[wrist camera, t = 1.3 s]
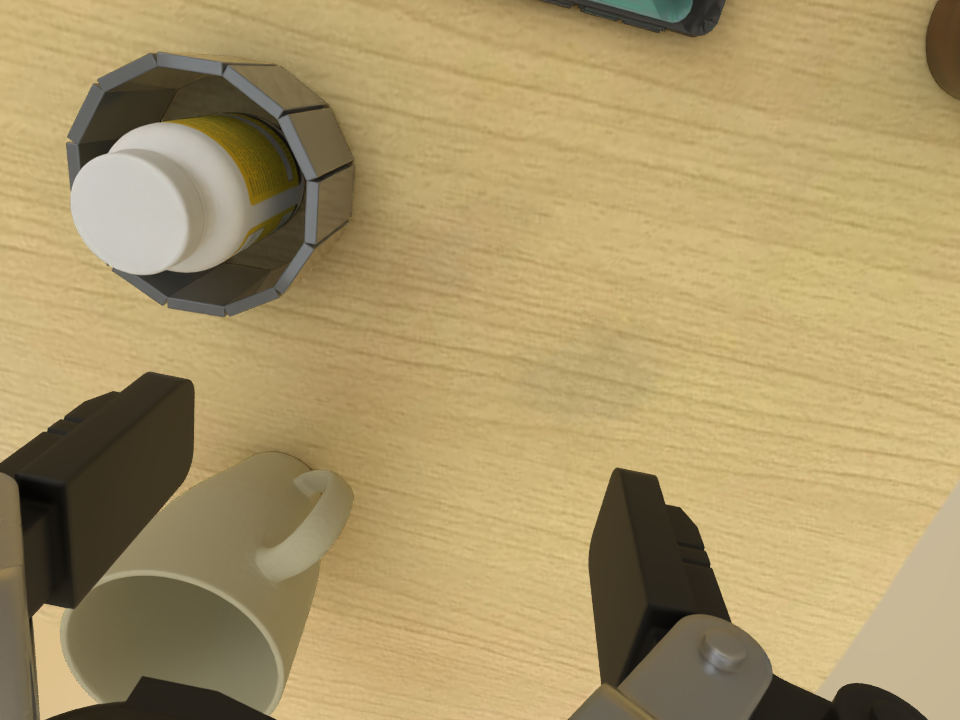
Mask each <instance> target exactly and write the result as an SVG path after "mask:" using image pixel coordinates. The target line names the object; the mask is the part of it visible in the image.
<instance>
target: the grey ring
mask: <svg viewBox="0 0 960 720" xmlns="http://www.w3.org/2000/svg"><path fill="white" fill-rule="evenodd" d="M206 75H213V76H219V77H223V78H224V79H226V80H227V81H228V82H229V83H231V84H232V85H233V86H234V87H236V88H237V89H238V90H240V91H241V92H242V93H243V94H245V95H246V96H247V97H248V98H250V99H251V100H252V101H254V102H255V103H256V104H257V105H259V106H260V107H261V108H262V109H264V110H265V111H266V112H268V113H269V114H270V115H271V116H273V117H274V118H275V119H276V120H277V121H278V123H279V125H280V127H281V129H282V131H283V133H284V135H285V137H286V140H287V142H288V144H289V146H290V148H291V150H292V152H293V154H294V156H295V158H296V160H297V163H298V165H299V167H300V169H301V171H302V173H303V175H304V177H305V179H306V181H307V182H306V206H305V230H304V243H303V244H302V246H301V247H300V249H299V250H298V252H297V253H296V254H295V256H294V257H293V259H292V260H291V262H290V263H289V264H287V265H284V266H281V267H279V268H276V269H274V270H272V271H271V270H266V269H259V268H253V267H247V266H241V265H235V264H229V263H224V262H222V263H221V264H219V265H217V266H214V267H212V268H209V269H207V270H203V271H199V272H188V273H186V272H175V271H169V270H165V271H163V272H160V273H156V274H151V275H135V274H130V273H126V272H123V271H120V270H118V269H115V268H112V271H113V272H115V273H116V274H118V275H119V276H120V277H122V278H123V279H125V280H126V281H128V282H129V283H130V284H132V285H133V286H135V287H136V288H138V289H139V290H141V291H142V292H143V293H145V294H146V295H148V296H149V297H151V298H152V299H153V300H155V301H156V302H158V303H159V304H161V305H162V306H163V305H165V304H166V303H168V308H171V309H177V310H183V311H189V312H195V313H201V314H208V315H214V316H220V317H225V316H226V315H228V316H229V317H231V316H233V315H236V314H239V313H241V312H244V311H246V310H249V309H251V308H254V307H257V306H259V305H262V304H264V303H267V302H270V301H272V300H275V299H277V298H279V297H280V296H282V295H283V294H284V293H286V292H287V291H288V290H289V289H290V288H291V287H292V286H294V285H295V284H296V283H297V282H298V281H299V280H300V279H302V278H303V277H304V276H305V275H306V274H307V273H308V272H310V271H311V270H312V269H313V268H314V267H315V266H316V265H318V264H319V263H320V262H321V261H322V260H323V259H324V258H325V256H326V255H327V253H328V252H329V250H330V249H331V248H332V246H333V245H334V243H335V242H336V241H337V239H338V238H339V236H340V235H341V234H342V232H343V231H344V229H345V228H346V226H347V225H348V224H349V220H348V219H349V218H351V215H352V200H353V185H354V171H355V165H354V164H347V163H349V162H351V161H353V160H354V159H353V157H352V154H351V152H350V150H349V148H348V146H347V143H346V141H345V139H344V137H343V134H342V132H341V130H340V128H339V125H338V123H337V121H336V119H335V117H334V114H333V112H332V110H331V108H325V106H326V104H327V103H326V102H325V101H324V100H323V99H322V98H320V97H319V96H318V95H317V94H315V93H314V92H313V91H312V90H310V89H309V88H308V87H307V86H305V85H304V84H303V83H302V82H300V81H299V80H298V79H297V78H295V77H294V76H293V75H292V74H290V73H289V72H288V71H287V70H285V69H284V68H283V67H281V66H277V65H276V64H274V63H268V62H262V61H255V60H249V59H243V58H236V57H230V56H224V55H208V54H190V53H173V52H157V53H149V54H147V55H145V56H143V57H141V58H139V59H137V60H135V61H133V62H131V63H129V64H127V65H125V66H123V67H121V68H119V69H117V70H115V71H113V72H110V73H108V74H106V75H104V76H102V77H100V78H98V79H97V80H98V82H99V83H94V84H93V85H92V87H91V89H90V91H89V93H88V95H87V97H86V99H85V101H84V103H83V105H82V107H81V109H80V111H79V113H78V115H77V117H76V119H75V121H74V123H73V125H72V127H71V129H70V131H69V134H68V136H67V137H68V138H69V139H70V140H72V142H67V143H66V148H67V159H68V169H69V179H70V190H72V186H73V183H74V180H75V178H76V176H77V174H78V173H79V171H80V170H81V169H82V167H83V166H85V165H86V164H87V163H88V162H89V161H91V160H92V159H94V158H96V157H98V156H101V155H104V154H108V152H109V151H110V149H111V148H112V146H113V145H114V144H115V143H116V142H117V141H118V140H119V139H120V138H121V137H122V136H124V135H125V134H127V133H128V132H130V131H132V130H134V129H136V128H139V127H141V126H145V125H148V124H153V123H158V122H160V120H161V118H162V117H163V115H164V113H165V111H166V109H167V107H168V106H169V104H170V102H171V100H172V98H173V96H174V95H175V93H176V91H177V89H179V88H181V87H183V86H186V85H188V84H190V83H192V82H194V81H196V80H198V79H200V78H202V77H204V76H206ZM106 264H107V263H106ZM107 265H108V264H107ZM108 266H110V265H108Z"/></svg>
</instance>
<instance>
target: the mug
mask: <svg viewBox="0 0 960 720" xmlns="http://www.w3.org/2000/svg"><path fill="white" fill-rule="evenodd" d="M323 491H324V493H323V495H322V497H321V492H323ZM353 500H354V495H353V492H352V489H351V487H350V486H349V485H348V483H347V482H346V481H345V480H344V479H343V478H342V477H341V476H339V475H338V474H337V473H335V472H333V471H330V470H315V471H311V470H310V469H309V468H308V467H307V466H306V465H305V464H304V463H302V462H301V461H300V460H298V459H296V458H294V457H292V456H290V455H287V454H283V453H279V452H264V453H259V454H256V455H253V456H251V457H249V458H247V459H245V460H243V461H241V462H239V463H237V464H236V465H234V466H232V467H230V468H228V469H226V470H224V471H222V472H220V473H218V474H216V475H214V476H212V477H210V478H208V479H206V480H204V481H202V482H200V483H199V484H197V485H195V486H194V487H192V488H190V489H189V490H187V491H186V492H184V493H183V494H181V495H180V496H179V497H177V498H176V499H174V500H173V501H172V502H171V503H169V504H168V505H167V506H166V507H165V508H164V509H162V510H161V511H160V512H159V513H158V514H157V515H156V516H155V517H153V518H152V520H151V521H150V522H149V523H148V524H147V525H146V527H145V528H144V529H143V530H142V531H141V532H140V534H139V535H138V536H137V537H136V538H135V539H134V541H133V542H132V543H131V544H130V545H129V546H128V548H127V549H126V550H125V551H124V552H123V553H122V555H121V556H120V557H119V558H118V559H117V560H116V562H115V563H114V564H113V565H112V566H111V567H110V569H109V570H108V571H107V572H106V573H105V574H104V576H103V577H102V578H101V579H100V580H99V581H98V582H97V584H96V585H95V586H94V587H93V588H92V589H91V591H90V592H89V593H88V594H87V595H86V596H85V598H84V599H83V600H82V601H81V602H80V603H79V605H78V606H77V607H76V608H75V609H69V608H66V609H65V611H64V614H63V617H62V621H61V627H60V640H61V646H62V652H63V654H64V658H65V660H66V662H67V665H68V667H69V668H70V671H71V673H72V674H73V676H74V677H75V679H76V680H77V681H78V683H79V684H80V685H81V687H82V688H83V689H84V690H85V691H86V692H87V693H88V694H89V695H90V696H91V697H92V698H93V699H94V700H95V701H96V702H97V703H98V704H103V703H110V702H119V701H126V700H127V698H128V697H129V695H130V694H131V692H132V691H133V689H134V688H135V686H136V685H137V683H138V682H139V680H140V679H141V677H142V676H146V677H151V678H156V679H161V680H166V681H171V682H176V683H180V684H185V685H190V686H195V687H200V688H205V689H210V690H215V691H219V692H221V693H223V694H225V695H227V696H229V697H231V698H233V699H235V700H237V701H239V702H241V703H243V704H245V705H247V706H249V707H251V708H253V709H256V710H258V711H260V712H262V713H264V714H266V715H268V716H270V715H271V714H272V712H273V711H274V710H275V708H276V707H277V705H278V703H279V701H280V699H281V697H282V694H283V691H284V688H285V685H286V682H287V679H288V676H289V673H290V670H291V667H292V663H293V660H294V657H295V654H296V651H297V648H298V645H299V642H300V639H301V636H302V633H303V629H304V626H305V623H306V620H307V617H308V614H309V611H310V607H311V604H312V601H313V597H314V594H315V590H316V585H317V581H318V577H319V570H320V563H321V558H322V556H323V555H324V554H325V553H326V552H327V551H328V550H329V549H330V548H331V546H332V545H333V543H334V542H335V540H336V539H337V538H338V536H339V535H340V533H341V531H342V529H343V527H344V525H345V523H346V521H347V519H348V517H349V514H350V511H351V508H352V505H353Z"/></svg>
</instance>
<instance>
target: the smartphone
mask: <svg viewBox="0 0 960 720" xmlns="http://www.w3.org/2000/svg"><path fill="white" fill-rule="evenodd" d="M540 1H544V2H548V3H551V4H555V5H559V6H562V7H566V8H570V7H571V6H574V5H578V6H579V7H578V8H580V9H581V10H580V11H581V12H584V13H588V14H591V15H595V16H598V17H602V18H606V19H609V20H613V21H618V19H619V20H623V21H622V23H624V24H628V25H631V26H635V27H638V28H642V29H646V30H649V31H653V32H657V33H660V31H664V32H665V30H669V31H672V32H676V33H679V34H683V35H687V36H690V37H696V36H701V35H705V34H707V33H708V32H710V31H712V30H713V28H714V27H715V26H716V25H717V23H718V20H719V18H720V15H721V12H722V9H723V6H724V3H725V1H726V0H540Z"/></svg>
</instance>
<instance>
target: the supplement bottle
mask: <svg viewBox="0 0 960 720" xmlns="http://www.w3.org/2000/svg"><path fill="white" fill-rule="evenodd" d="M303 193H304V175H303V173H302V171H301V169H300V167H299V165H298V163H297V160H296V158H295V156H294V154H293V152H292V150H291V148H290V146H289V144H288V142H287V140H286V137H285V135H284V133H283V132H282V131H281V130H279V129H278V128H277V127H276V126H274V125H273V124H272V123H270V122H268V121H267V120H265V119H262V118H260V117H258V116H254V115H251V114H245V113H222V114H215V115H208V116H201V117H193V118H186V119H179V120H172V121H165V122H158V123H153V124H148V125H145V126H141V127H139V128H136V129H134V130H132V131H130V132H128V133H127V134H125V135H124V136H122V137H121V138H120V139H119V140H118V141H117V142H116V143H115V144H114V145H113V146H112V148H111V149H110V151H109V152H108V154H104V155H101V156H98V157H96V158H94V159H92V160H91V161H89V162H88V163H87V164H86V165H85V166H83V167H82V169H81V170H80V171H79V173H78V174H77V176H76V178H75V180H74V183H73V186H72V190H71V197H70V206H71V213H72V217H73V221H74V223H75V226H76V228H77V231H78V233H79V235H80V236H81V238H82V240H83V241H84V243H85V244H86V245H87V247H88V248H89V249H90V250H91V251H92V252H93V253H94V254H95V255H96V256H97V257H98V258H100V259H101V260H102V261H104V262H105V263H107V264H108V265H110V266H112V267H113V268H115V269H118V270H120V271H123V272H126V273H130V274H135V275H151V274H156V273H160V272H163V271H165V270H169V271H175V272H186V273H188V272H199V271H203V270H207V269H209V268H212V267H214V266H217V265H219V264H221V263H222V262H224V261H226V260H227V259H229V258H231V257H232V256H234V255H236V254H237V253H239V252H241V251H243V250H244V249H246V248H248V247H249V246H251V245H253V244H254V243H256V242H258V241H259V240H261V239H263V238H265V237H266V236H268V235H270V234H271V233H273V232H275V231H276V230H278V229H279V228H281V227H282V226H283V225H285V224H286V223H287V222H288V221H289V220H290V219H291V218H292V217H293V216H294V214H295V213H296V211H297V210H298V208H299V206H300V203H301V201H302V197H303Z"/></svg>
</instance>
